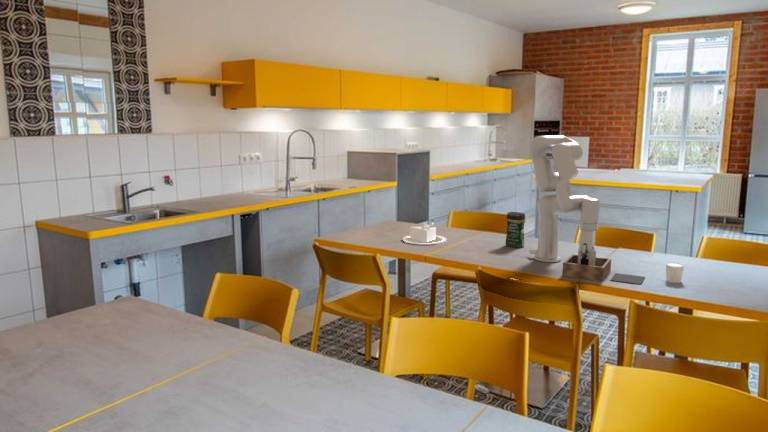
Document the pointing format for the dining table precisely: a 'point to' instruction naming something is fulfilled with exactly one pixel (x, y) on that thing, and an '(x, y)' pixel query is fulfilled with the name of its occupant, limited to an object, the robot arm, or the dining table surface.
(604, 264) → the crate
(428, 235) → the dish
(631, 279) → the mat
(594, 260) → the can
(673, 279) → the shot glass
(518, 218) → the coffee jar
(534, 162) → the robot arm
